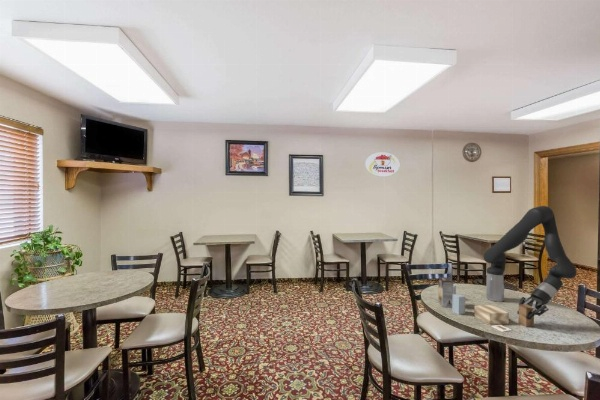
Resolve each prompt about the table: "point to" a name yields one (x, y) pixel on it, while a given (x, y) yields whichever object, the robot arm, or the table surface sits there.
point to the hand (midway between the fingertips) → (523, 316)
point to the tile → (501, 328)
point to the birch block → (491, 314)
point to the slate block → (458, 304)
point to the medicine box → (454, 289)
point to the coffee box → (445, 292)
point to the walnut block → (522, 316)
